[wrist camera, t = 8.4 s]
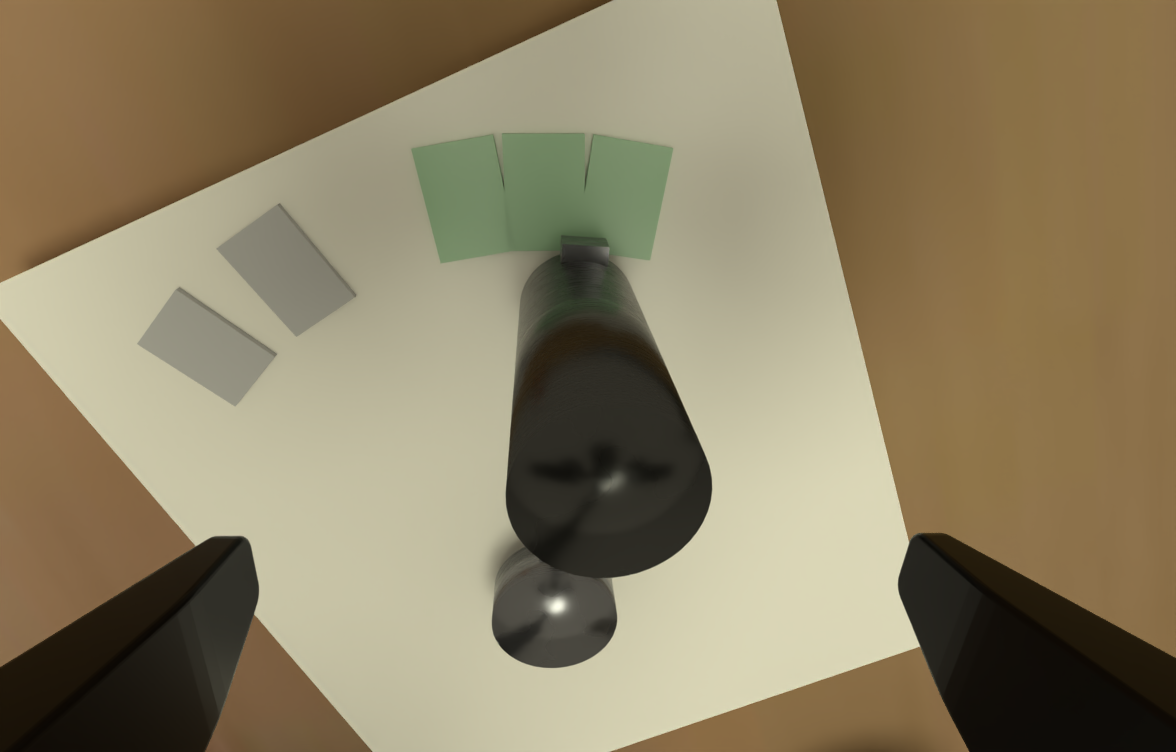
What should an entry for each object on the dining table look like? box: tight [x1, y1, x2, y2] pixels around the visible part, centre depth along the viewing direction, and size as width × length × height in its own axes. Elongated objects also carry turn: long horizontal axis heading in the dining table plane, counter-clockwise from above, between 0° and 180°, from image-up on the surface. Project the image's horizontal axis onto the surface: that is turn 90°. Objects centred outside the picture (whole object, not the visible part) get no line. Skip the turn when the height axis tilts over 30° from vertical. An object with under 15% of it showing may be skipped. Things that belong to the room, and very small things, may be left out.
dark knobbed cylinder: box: [492, 235, 712, 668], centre depth 16 cm, size 14×4×9 cm, turn 175°
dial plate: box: [0, 0, 920, 752], centre depth 22 cm, size 22×25×2 cm
